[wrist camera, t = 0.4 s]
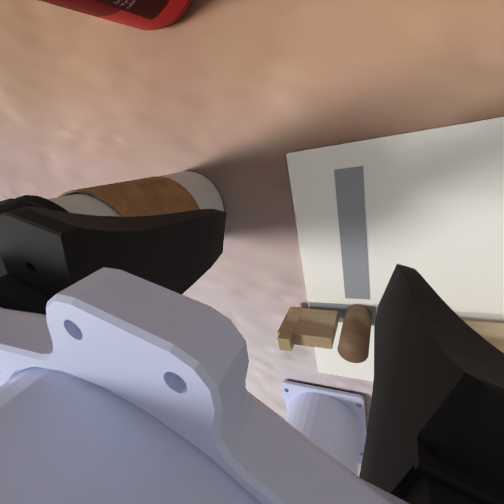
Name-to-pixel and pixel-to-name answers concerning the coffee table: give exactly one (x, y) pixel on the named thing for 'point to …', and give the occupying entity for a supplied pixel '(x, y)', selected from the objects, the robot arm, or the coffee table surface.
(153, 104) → the coffee table surface
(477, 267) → the card
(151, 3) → the canned food
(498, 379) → the robot arm
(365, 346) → the wooden pieces
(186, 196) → the coffee cup
